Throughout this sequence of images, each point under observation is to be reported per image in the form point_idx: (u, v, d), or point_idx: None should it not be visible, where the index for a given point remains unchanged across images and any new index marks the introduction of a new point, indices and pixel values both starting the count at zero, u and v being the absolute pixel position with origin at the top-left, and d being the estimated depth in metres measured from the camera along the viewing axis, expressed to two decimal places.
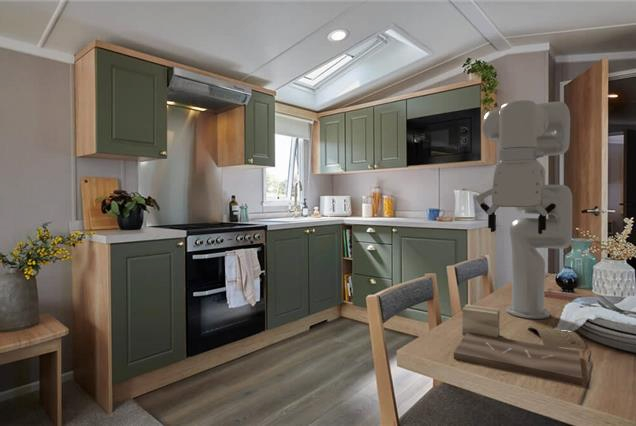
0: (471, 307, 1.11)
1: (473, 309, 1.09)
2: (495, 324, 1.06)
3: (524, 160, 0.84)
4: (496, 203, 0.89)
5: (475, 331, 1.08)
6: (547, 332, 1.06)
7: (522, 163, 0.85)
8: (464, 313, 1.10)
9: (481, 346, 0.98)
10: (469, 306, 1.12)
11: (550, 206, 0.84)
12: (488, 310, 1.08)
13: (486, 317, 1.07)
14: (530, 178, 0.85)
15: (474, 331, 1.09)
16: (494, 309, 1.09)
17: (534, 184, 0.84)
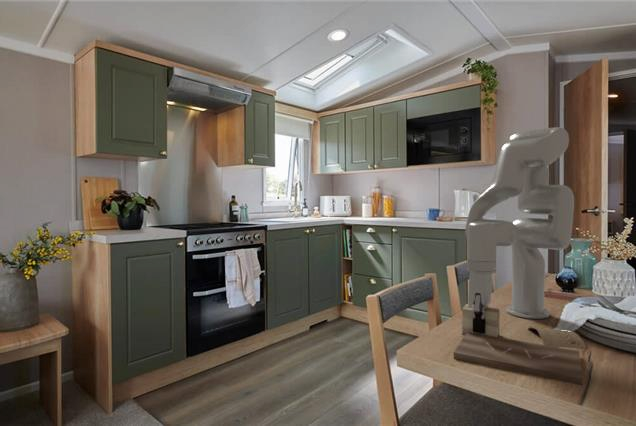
0: (471, 307, 1.11)
1: (473, 309, 1.09)
2: (495, 324, 1.06)
3: None
4: (486, 307, 1.05)
5: None
6: (547, 332, 1.06)
7: None
8: (464, 313, 1.10)
9: (481, 346, 0.98)
10: None
11: None
12: (488, 310, 1.08)
13: (486, 317, 1.07)
14: (491, 282, 1.10)
15: None
16: (494, 309, 1.09)
17: None
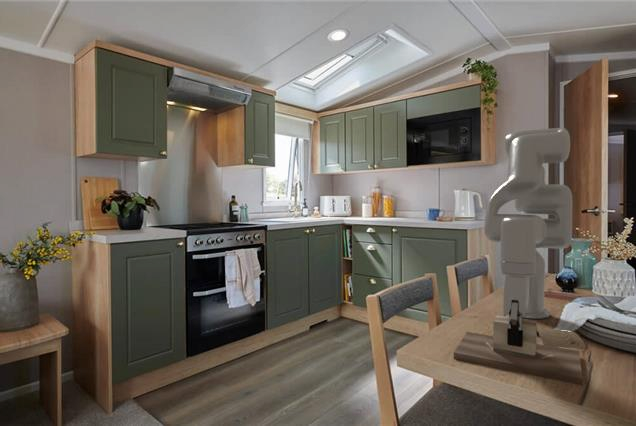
0: (503, 319, 0.96)
1: (506, 321, 0.94)
2: (533, 339, 0.90)
3: None
4: (525, 316, 0.90)
5: (509, 347, 0.93)
6: (547, 332, 1.06)
7: None
8: (495, 326, 0.94)
9: (481, 346, 0.98)
10: (501, 317, 0.97)
11: None
12: (524, 322, 0.93)
13: None
14: None
15: (507, 347, 0.93)
16: (530, 321, 0.94)
17: None
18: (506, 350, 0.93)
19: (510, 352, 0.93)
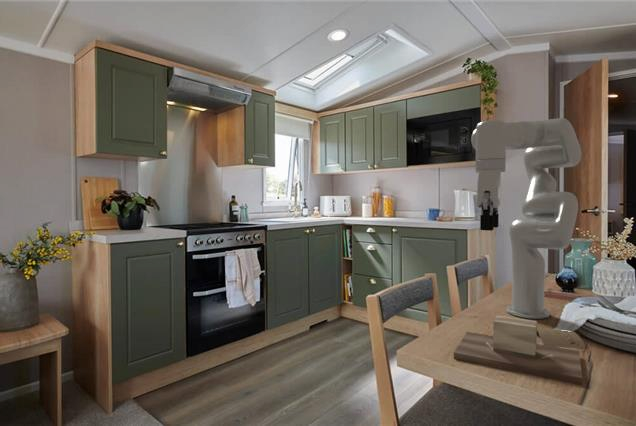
0: (503, 319, 0.96)
1: (506, 321, 0.94)
2: (533, 339, 0.90)
3: None
4: (495, 205, 1.03)
5: (509, 347, 0.93)
6: (547, 332, 1.06)
7: (500, 172, 1.06)
8: (495, 326, 0.94)
9: (481, 346, 0.98)
10: (501, 317, 0.97)
11: None
12: (524, 322, 0.93)
13: (522, 331, 0.91)
14: None
15: (507, 347, 0.93)
16: (530, 321, 0.94)
17: None
18: (506, 350, 0.93)
19: (510, 352, 0.93)
